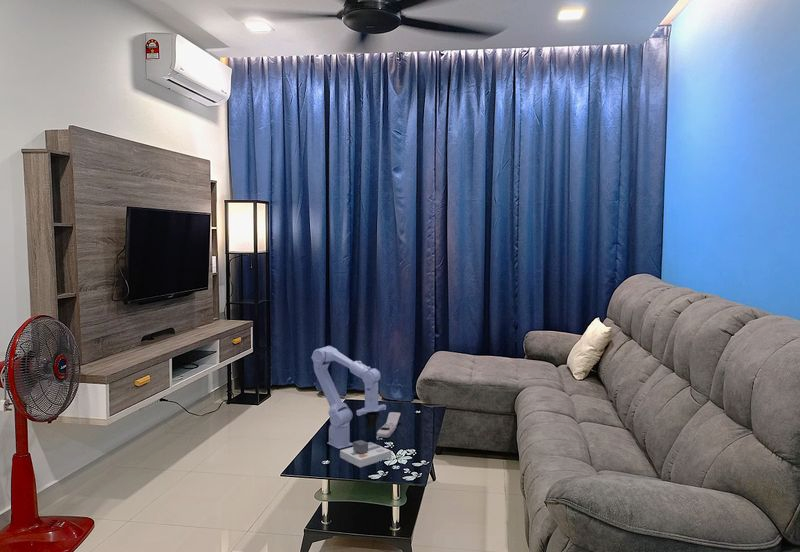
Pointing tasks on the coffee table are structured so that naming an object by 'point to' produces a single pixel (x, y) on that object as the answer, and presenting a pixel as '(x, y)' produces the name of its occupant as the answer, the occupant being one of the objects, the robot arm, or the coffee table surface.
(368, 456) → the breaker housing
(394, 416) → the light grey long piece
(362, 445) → the switch lever
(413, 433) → the coffee table surface
